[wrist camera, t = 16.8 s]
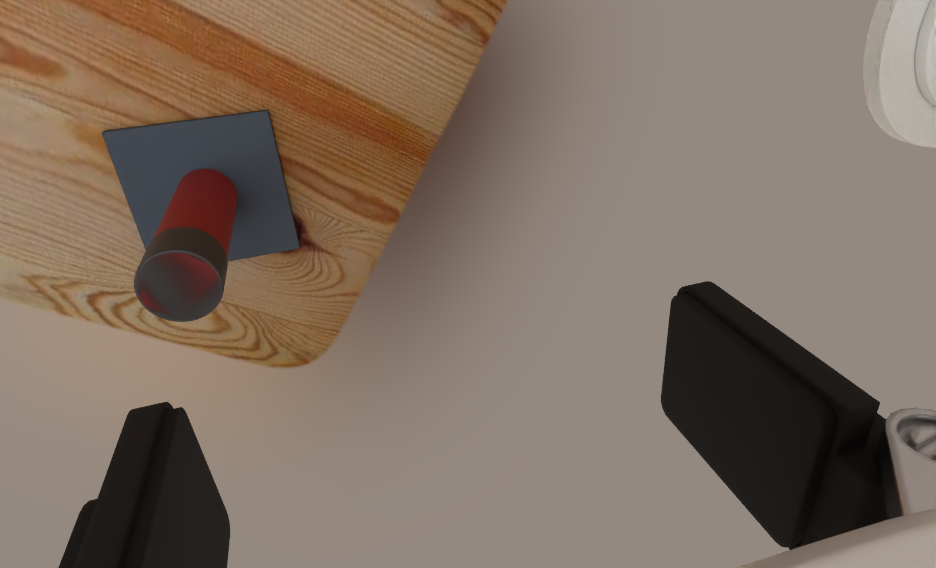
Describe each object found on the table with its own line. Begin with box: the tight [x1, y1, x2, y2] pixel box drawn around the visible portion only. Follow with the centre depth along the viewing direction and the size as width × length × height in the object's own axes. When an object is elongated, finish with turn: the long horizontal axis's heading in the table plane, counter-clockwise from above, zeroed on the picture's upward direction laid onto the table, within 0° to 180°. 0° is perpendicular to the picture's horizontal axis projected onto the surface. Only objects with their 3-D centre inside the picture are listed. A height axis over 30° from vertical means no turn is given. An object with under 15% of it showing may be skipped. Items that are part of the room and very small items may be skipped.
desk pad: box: [102, 110, 300, 261], centre depth 32 cm, size 8×8×1 cm
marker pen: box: [134, 169, 237, 322], centre depth 27 cm, size 3×3×11 cm
